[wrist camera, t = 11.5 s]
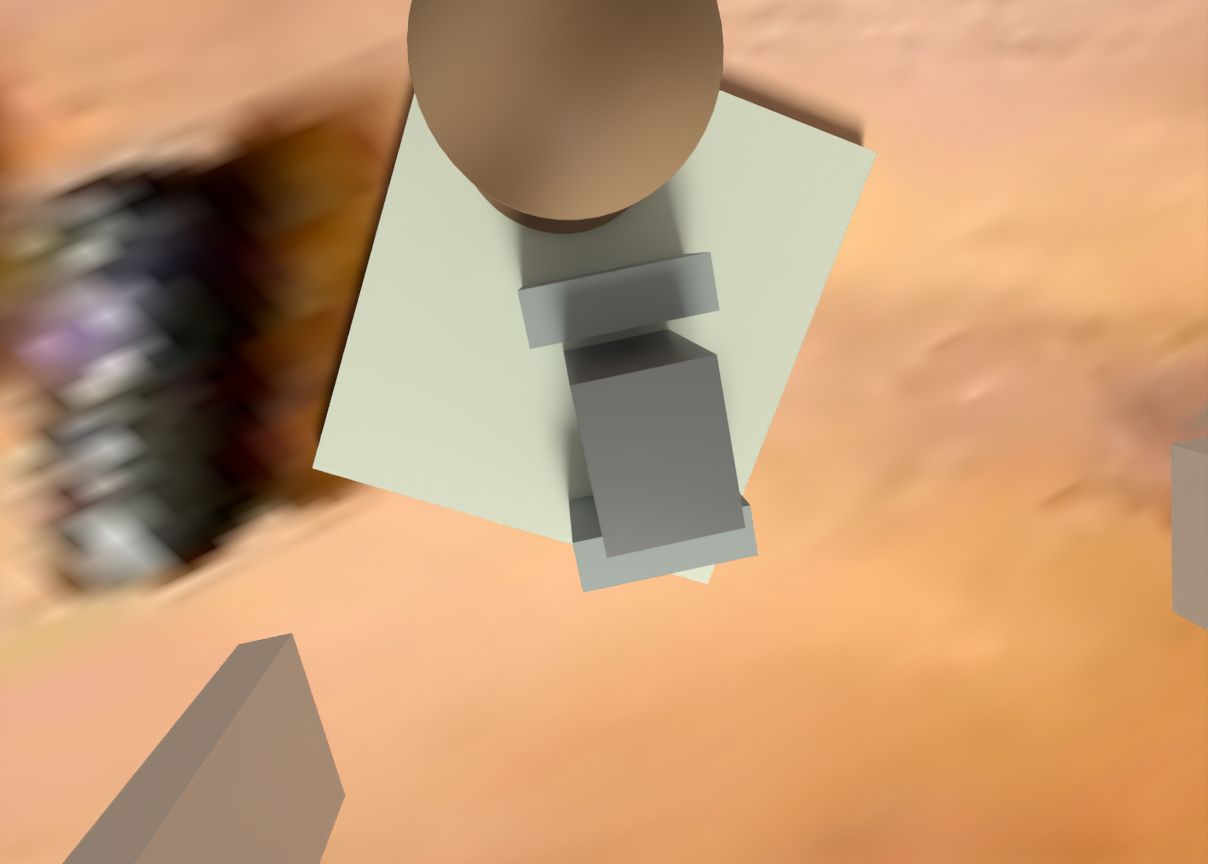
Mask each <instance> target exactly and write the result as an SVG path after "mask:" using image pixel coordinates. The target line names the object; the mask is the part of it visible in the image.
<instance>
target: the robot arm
mask: <svg viewBox="0 0 1208 864" xmlns="http://www.w3.org/2000/svg"><path fill="white" fill-rule="evenodd" d="M1171 522H1172V602H1173V612H1175V613H1177V614H1179V615H1180V616H1182V617H1184V618H1186V619H1188V620H1189V621H1191V622H1193V623H1195V624H1197V625H1198V626H1200V627H1202V628H1204V629H1206V630H1207V631H1208V437H1203V438H1198V439H1194V440H1189V441H1184V442H1180V443H1175V444H1171ZM344 797H345V793H344V790H343V787H342V784H341V781H340V778H339V775H338V772H337V769H336V766H335V763H334V760H333V757H332V754H331V751H330V748H329V744H328V741H327V738H326V735H325V732H324V729H323V726H322V723H321V720H320V717H319V714H318V711H317V708H316V705H315V702H314V699H313V695H312V692H311V689H310V686H309V683H308V680H307V677H306V674H305V671H304V668H303V665H302V662H301V659H300V656H299V653H298V650H297V646H296V643H295V640H294V637H293V634H292V633H290V634H286V635H281V636H276V637H272V638H267V639H262V640H258V641H253V642H248V643H244V644H239V645H238V646H237V647H236V649H235V650H234V651H233V652H232V654H231V655H230V656H229V657H228V659H227V660H226V661H225V662H224V664H223V665H222V666H221V667H220V668H219V670H218V671H217V672H216V673H215V675H214V676H213V677H212V678H211V680H210V681H209V682H208V683H207V685H206V686H205V687H204V688H203V690H202V691H201V692H200V693H199V695H198V696H197V697H196V698H195V700H194V701H193V702H192V703H191V705H190V706H189V707H188V708H187V710H186V711H185V712H184V713H183V714H182V716H181V717H180V718H179V719H178V721H177V722H176V723H175V724H174V726H173V727H172V728H171V729H170V731H169V732H168V733H167V734H166V736H165V737H164V738H163V739H162V741H161V742H160V743H159V744H158V746H157V747H156V748H155V749H154V751H153V752H152V753H151V754H150V756H149V757H148V758H147V759H146V761H145V762H144V763H143V764H142V765H141V767H140V768H139V769H138V770H137V772H136V773H135V774H134V775H133V777H132V778H131V779H130V780H129V782H128V783H127V784H126V785H125V787H124V788H123V789H122V790H121V792H120V793H119V794H118V795H117V797H116V798H115V799H114V800H113V802H112V803H111V804H110V805H109V807H108V808H107V809H106V810H105V812H104V813H103V814H102V815H101V816H100V818H99V819H98V820H97V821H96V823H95V824H94V825H93V826H92V828H91V829H90V830H89V831H88V833H87V834H86V835H85V836H84V838H83V839H82V840H81V841H80V843H79V844H78V845H77V846H76V848H75V849H74V850H73V851H72V853H71V854H70V855H69V856H68V858H67V859H66V860H65V861H64V862H63V864H319V863H320V861H321V858H322V855H323V853H324V850H325V847H326V845H327V842H328V839H329V837H330V834H331V831H332V829H333V826H334V823H335V821H336V818H337V815H338V813H339V810H340V807H341V805H342V802H343V799H344Z"/></svg>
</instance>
